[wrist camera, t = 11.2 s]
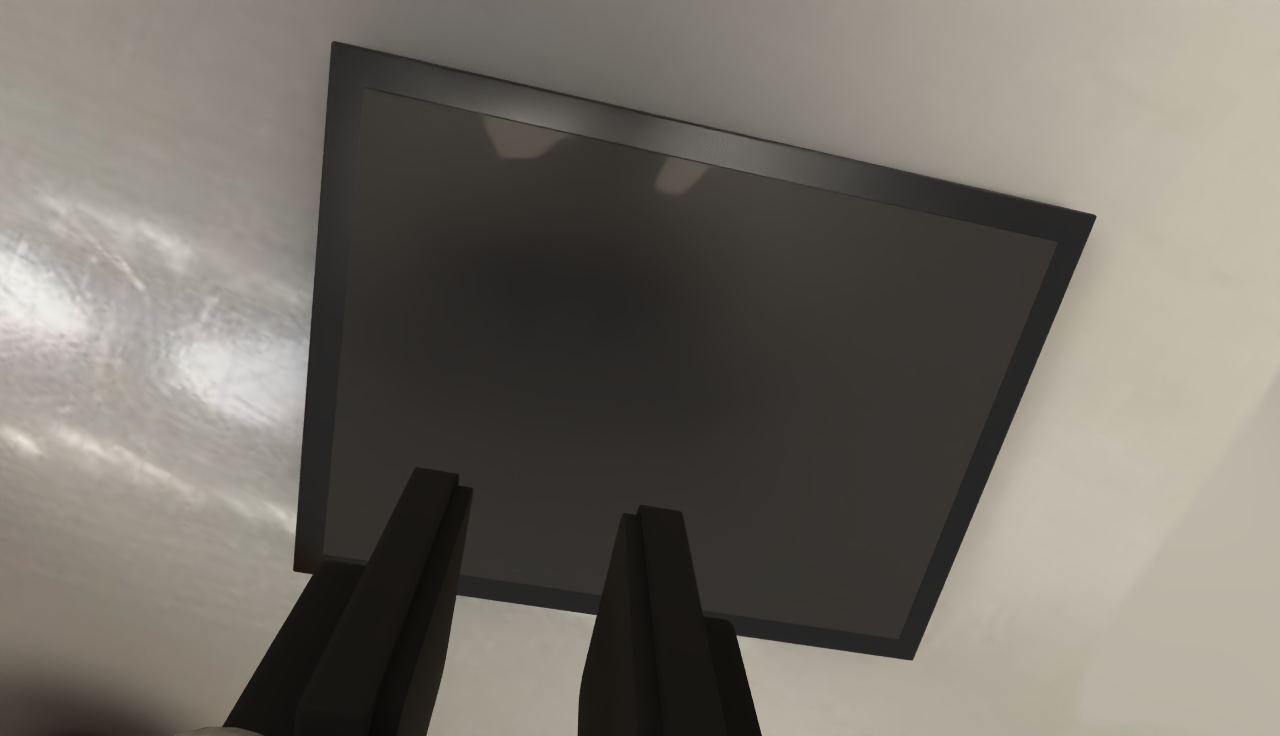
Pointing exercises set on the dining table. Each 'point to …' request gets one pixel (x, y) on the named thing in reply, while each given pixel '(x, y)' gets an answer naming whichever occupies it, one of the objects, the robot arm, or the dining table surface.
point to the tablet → (661, 349)
